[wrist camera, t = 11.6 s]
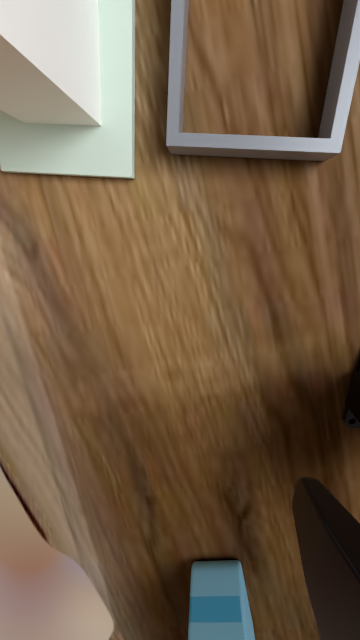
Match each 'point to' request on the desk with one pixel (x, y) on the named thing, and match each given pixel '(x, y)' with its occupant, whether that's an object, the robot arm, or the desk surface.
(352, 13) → the grey holder tray
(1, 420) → the desk surface
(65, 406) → the desk surface
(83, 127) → the sage mat
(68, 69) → the module
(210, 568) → the data package
